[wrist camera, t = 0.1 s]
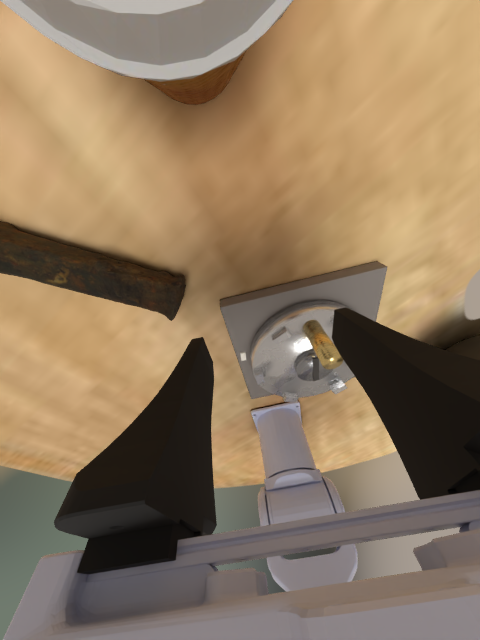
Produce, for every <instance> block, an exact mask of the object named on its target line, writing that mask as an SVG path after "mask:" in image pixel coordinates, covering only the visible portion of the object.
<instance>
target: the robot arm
mask: <svg viewBox="0 0 480 640" xmlns="http://www.w3.org/2000/svg"><path fill="white" fill-rule="evenodd" d="M332 340H333V342H334V344H335V346H336V348H337V350H338V352H339V354H340V355H341V357H342V358H343V360H344V361H345V363H346V364H347V366H348V367H349V368H350V370H351V371H352V373H353V374H354V376H355V377H356V378H357V380H358V381H359V383H360V384H361V386H362V387H363V388H364V390H365V392H366V393H367V395H368V396H369V398H370V400H371V401H372V403H373V405H374V407H375V409H376V410H377V412H378V414H379V416H380V418H381V420H382V422H383V423H384V425H385V427H386V429H387V431H388V433H389V435H390V437H391V439H392V441H393V443H394V445H395V447H396V449H397V451H398V453H399V455H400V457H401V459H402V461H403V464H404V466H405V468H406V470H407V472H408V475H409V477H410V479H411V481H412V483H413V486H414V488H415V490H416V493H417V495H418V497H419V498H420V500H416V501H410V502H404V503H399V504H393V505H386V506H380V507H374V508H368V509H362V510H356V511H350V512H345V510H344V507H343V504H342V501H341V499H340V497H339V494H338V492H337V489H336V487H335V485H334V484H333V482H332V481H331V480H330V479H328V478H327V477H326V476H321V473H320V470H319V469H316V466H315V463H314V460H313V457H312V454H311V451H310V448H309V445H308V442H307V439H306V436H305V433H304V430H303V427H302V420H301V410H300V403H299V401H296V403H294V402H289V403H284V404H279V405H275V406H270V407H265V408H260V409H255V410H252V411H251V415H252V418H253V420H254V423H255V426H256V428H257V431H258V434H259V438H260V444H261V451H262V457H263V463H264V470H265V476H266V479H264V481H265V487H262V488H261V489H260V492H259V494H258V508H259V517H260V525H261V526H260V527H253V528H247V529H242V530H235V531H230V532H224V533H218V534H212V533H213V531H214V530H215V527H216V525H217V524H216V513H215V499H214V485H213V468H212V445H211V415H212V400H213V386H214V371H213V361H212V359H211V356H210V354H209V351H208V349H207V346H206V344H205V341H204V339H203V337H201V338H196V339H192V340H191V342H190V344H189V345H188V347H187V349H186V351H185V352H184V354H183V356H182V357H181V359H180V361H179V362H178V364H177V366H176V367H175V369H174V371H173V372H172V374H171V375H170V377H169V378H168V380H167V381H166V383H165V384H164V385H163V387H162V388H161V390H160V391H159V392H158V394H157V395H156V396H155V397H154V399H153V400H152V401H151V402H150V404H149V405H148V406H147V407H146V408H145V409H144V410H143V411H142V413H141V414H140V415H139V416H138V417H137V418H136V419H135V420H134V421H133V422H132V424H131V425H130V426H129V427H128V428H127V429H126V430H125V431H124V432H123V433H122V434H121V435H120V436H119V437H118V438H116V439H115V440H114V441H113V442H112V443H111V444H110V445H109V446H108V447H107V448H106V449H105V450H104V451H103V452H101V453H100V454H99V455H98V456H97V457H96V458H95V459H93V460H92V461H91V462H90V463H89V464H88V465H87V466H85V467H84V468H83V469H82V470H81V471H79V472H78V473H77V474H76V476H75V478H74V480H73V483H72V485H71V487H70V489H69V491H68V493H67V495H66V498H65V499H64V502H63V504H62V506H61V508H60V510H59V512H58V514H57V516H56V519H55V521H54V525H55V527H56V528H57V529H58V530H60V531H63V532H66V533H69V534H73V535H77V536H81V537H84V538H88V539H89V540H88V542H87V545H86V548H85V551H83V550H78V551H70V552H63V553H57V554H51V555H45V556H43V557H42V558H41V559H40V560H39V563H38V565H37V567H36V569H35V571H34V573H33V575H32V578H31V580H30V582H29V584H28V586H27V588H26V591H25V593H24V595H23V597H22V599H21V601H20V604H19V606H18V608H17V610H16V613H15V615H14V617H13V619H12V621H11V623H10V625H9V627H8V630H7V632H6V634H5V636H4V638H3V640H480V360H476V359H472V358H469V357H466V356H462V355H459V354H456V353H452V352H449V351H446V350H443V349H440V348H437V347H434V346H432V345H429V344H426V343H423V342H421V341H418V340H415V339H413V338H410V337H408V336H406V335H403V334H401V333H399V332H396V331H394V330H392V329H390V328H388V327H385V326H383V325H381V324H379V323H377V322H375V321H373V320H371V319H369V318H367V317H365V316H363V315H361V314H359V313H357V312H355V311H353V310H351V309H349V308H346V307H345V308H340V309H335V310H334V318H333V329H332ZM456 527H460V531H459V532H460V533H458V534H453V535H449V536H445V537H440V538H436V539H433V540H432V541H431V542H430V543H428V544H425V545H423V546H420V547H417V548H414V550H413V552H414V554H415V556H416V558H417V560H418V562H419V564H420V566H421V568H422V571H418V572H411V573H404V574H397V575H391V576H384V577H378V578H372V579H365V580H358V581H352V579H353V577H354V575H355V572H356V570H357V566H358V560H357V550H356V547H355V543H362V542H368V541H375V540H380V539H387V538H393V537H400V536H406V535H412V534H418V533H424V532H431V531H438V530H444V529H450V528H456ZM337 546H338V547H337ZM331 547H337V549H336V551H335V552H334V553H332V554H327V555H320V556H314V557H309V558H302V559H295V560H287V559H285V558H283V556H281V555H286V554H293V553H299V552H306V551H312V550H318V549H324V548H331ZM262 558H267V563H268V568H269V570H270V571H271V574H272V577H273V579H274V580H275V581H276V582H277V584H279V585H280V586H281V587H282V588H283V589H284V590H285V591H286V592H281V593H275V594H269V593H268V587H267V578H266V574H265V573H264V572H256V570H255V569H254V568H247V569H235V570H224V571H218V569H217V568H216V567H215V566H218V565H224V564H230V563H236V562H242V561H249V560H255V559H262Z"/></svg>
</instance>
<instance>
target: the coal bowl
mask: <svg viewBox="0 0 480 640" xmlns="http://www.w3.org/2000/svg"><path fill="white" fill-rule="evenodd" d="M446 351H449V352H452V353H456V354H459V355H462V356H466V357H469V358H472V359H476V360H480V335H478V336H475V337H472V338H469V339H466V340H463V341H461V342H459V343H457V344H455V345H453V346H451V347H449V348H448V349H446Z"/></svg>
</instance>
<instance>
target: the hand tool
mask: <svg viewBox="0 0 480 640" xmlns="http://www.w3.org/2000/svg"><path fill="white" fill-rule="evenodd" d="M0 273H3V274H8V275H14V276H19V277H23V278H28V279H32V280H36V281H39V282H42V283H45V284H49V285H53V286H57V287H60V288H65V289H69V290H73V291H76V292H80V293H84V294H88V295H92V296H95V297H100V298H104V299H108V300H112V301H115V302H120V303H124V304H128V305H133V306H137V307H141V308H144V309H148V310H150V311H156V312H159V313H161V314H163V315H165V316H166V317H167V318H169V320H171V321H172V320H173V319H174V318H175V316H176V314H177V312H178V309H179V307H180V305H181V301H182V299H183V296H184V291H185V286H186V285H185V278H184V275H179V276H176V277H174V276H171V275H170V274H169V273H168V272H167V271H160V272H157V271H153V270H149V269H146V268H143V267H140V266H138V265H136V264H131V263H128V262H123V261H118V260H115V259H111V258H108V257H105V256H103V255H102V254H100V253H93V252H89V251H85V250H82V249H79V248H76V247H71V246H68V245H64V244H61V243H58V242H54V241H51V240H48V239H44V238H41V237H38V236H35V235H31V234H28V233H25V232H21V231H19V230H18V229H17V228H16V227H15V226H14V225H12V224H9V223H6V222H2V221H0Z"/></svg>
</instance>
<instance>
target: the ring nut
mask: <svg viewBox="0 0 480 640" xmlns="http://www.w3.org/2000/svg"><path fill="white" fill-rule="evenodd" d="M345 307H346V308H349V307H347V306H345V305H343V304H340V303H337V302H333V301H323V300H318V301H309V302H304V303H300V304H297V305H294V306H291V307H289V308H286V309H285V310H283V311H281V312H279V313H278V314H276V315H275V316H273V317H272V318H270V319H269V320H268V321H267V322H266V323H265V324H264V325H263V326H262V327H261V328H260V330H259V331H258V332H257V334H256V336H255V337H254V339H253V342H252V345H251V350H250V357H251V363H252V369H253V374H254V377H255V379H256V381H257V384H258V385H260V386H261V387H262V388H264V389H265V390H266V391H268V392H270V393H272V394H275V395H278V396H282V397H283V400H284V402H294V403H296V401H297V400H298V398H299V397H308V396H314V395H318V394H321V393H324V392H327V391H330V390H332V392H334V393H335V394H337V393H339V392H341V391H343V390H345V389H347V386H346V384H345V382H347V381H348V380H350V379H351V378H352V377H354V374H353V373H352V371H351V370H350V368H349V367H348V366H347V364H346V363H345V361H344V360H343V358H342V357H341V355H340V354H339V352H338V350H337V348H336V346H335V344H334V342H333V340H332V329H333V318H334V310H335V309H340V308H345ZM349 309H350V308H349ZM351 310H352V309H351Z"/></svg>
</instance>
